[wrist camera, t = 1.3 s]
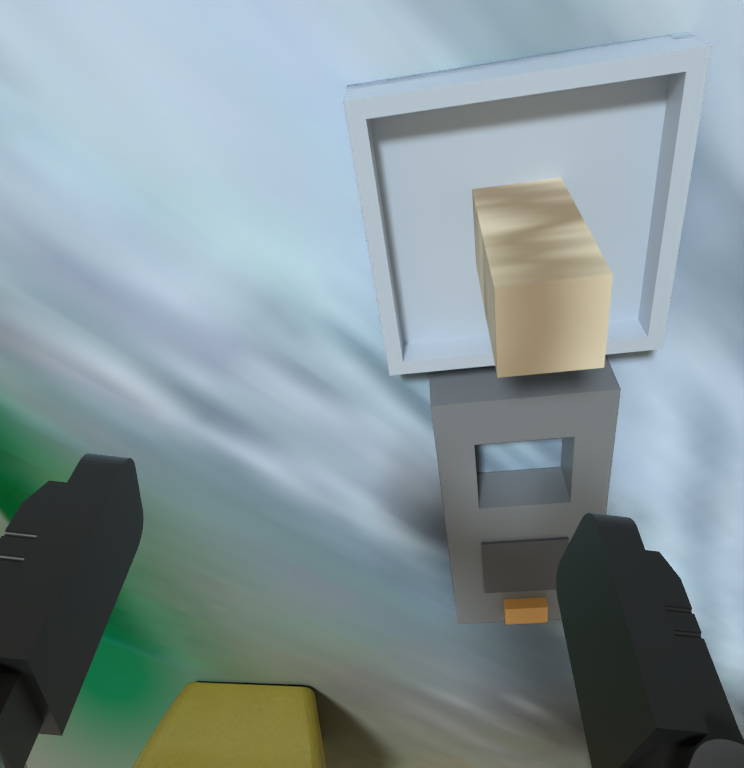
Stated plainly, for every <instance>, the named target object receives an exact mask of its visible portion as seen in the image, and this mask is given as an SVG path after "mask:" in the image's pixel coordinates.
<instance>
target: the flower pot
mask: <svg viewBox="0 0 744 768" xmlns="http://www.w3.org/2000/svg"><path fill="white" fill-rule="evenodd" d="M132 768H327V766H326V760H325V753H324V747H323V741H322V735H321V730H320V724H319V718H318V711H317V705H316V699H315V694H314V691H313V690H312V689H310V688H307V687H301V686H278V685H253V684H229V683H204V682H191V683H188V684H187V685H186V686H185V687H184V689H183V690H182V691H181V693H180V694H179V695H178V697H177V698H176V699H175V701H174V702H173V704H172V705H171V707H170V708H169V710H168V711H167V713H166V714H165V716H164V717H163V718H162V720H161V721H160V723H159V724H158V726H157V727H156V729H155V730H154V732H153V734H152V735H151V737H150V739H149V740H148V742H147V743H146V745H145V747H144V748H143V750H142V751H141V753H140V755H139V756H138V758H137V760H136V762H135V763H134V765H133V767H132Z"/></svg>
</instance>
